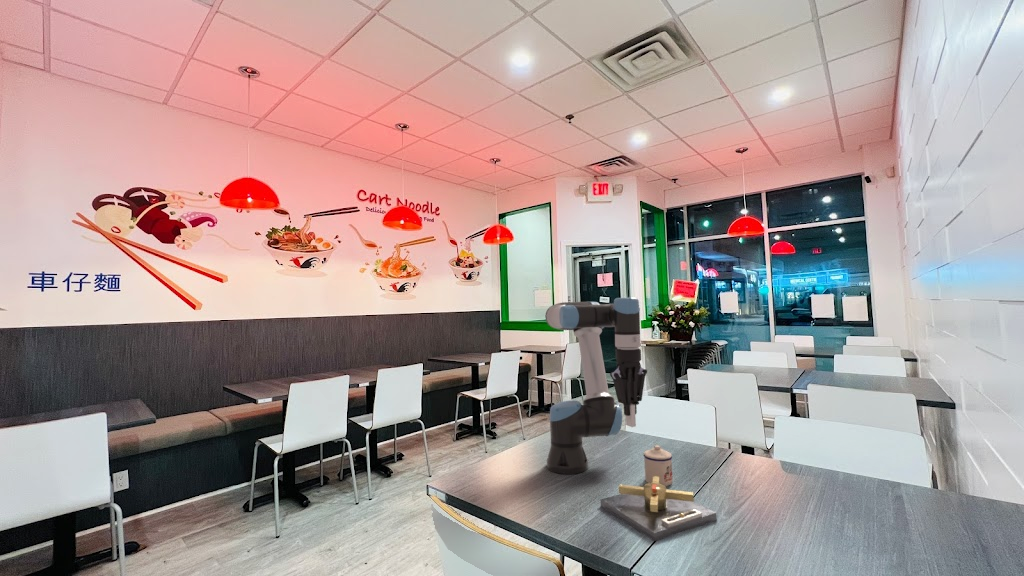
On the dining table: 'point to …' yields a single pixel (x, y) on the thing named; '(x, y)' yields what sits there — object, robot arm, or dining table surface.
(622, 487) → the capstan
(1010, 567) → the dining table surface
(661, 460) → the teacup with lid
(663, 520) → the stand
